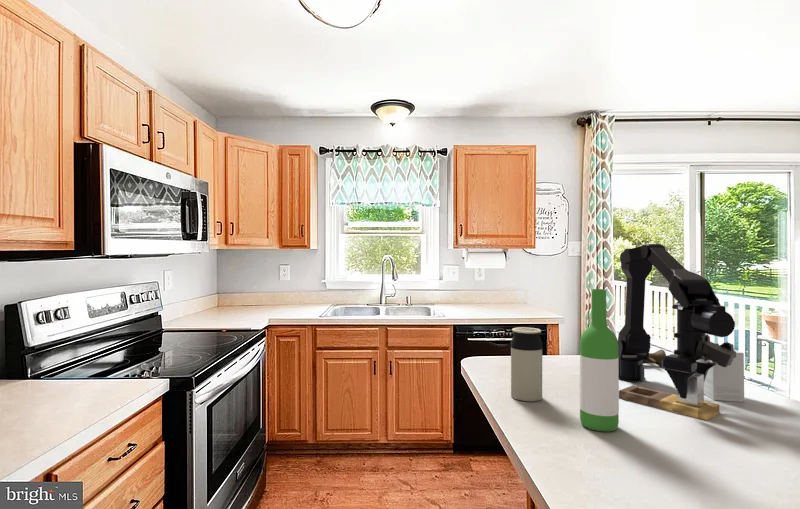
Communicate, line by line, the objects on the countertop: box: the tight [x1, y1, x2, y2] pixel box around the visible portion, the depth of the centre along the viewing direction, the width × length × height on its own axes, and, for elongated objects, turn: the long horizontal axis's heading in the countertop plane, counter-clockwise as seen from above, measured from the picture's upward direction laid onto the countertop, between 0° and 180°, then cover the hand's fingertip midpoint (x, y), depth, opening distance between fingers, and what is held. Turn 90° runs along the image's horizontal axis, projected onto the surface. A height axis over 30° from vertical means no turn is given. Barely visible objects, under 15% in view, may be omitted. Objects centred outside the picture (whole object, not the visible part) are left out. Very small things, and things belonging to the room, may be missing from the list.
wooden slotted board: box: [619, 385, 720, 421], centre depth 110 cm, size 20×8×2 cm, turn 37°
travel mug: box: [510, 326, 543, 403], centre depth 116 cm, size 8×8×18 cm
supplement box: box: [704, 349, 745, 403], centre depth 117 cm, size 7×7×13 cm
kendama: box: [643, 349, 667, 368], centre depth 155 cm, size 6×10×20 cm
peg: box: [678, 373, 705, 408], centre depth 106 cm, size 4×4×9 cm
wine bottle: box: [579, 288, 620, 433], centre depth 96 cm, size 8×8×30 cm
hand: (691, 394), depth 106 cm, fingers open, 9 cm apart
